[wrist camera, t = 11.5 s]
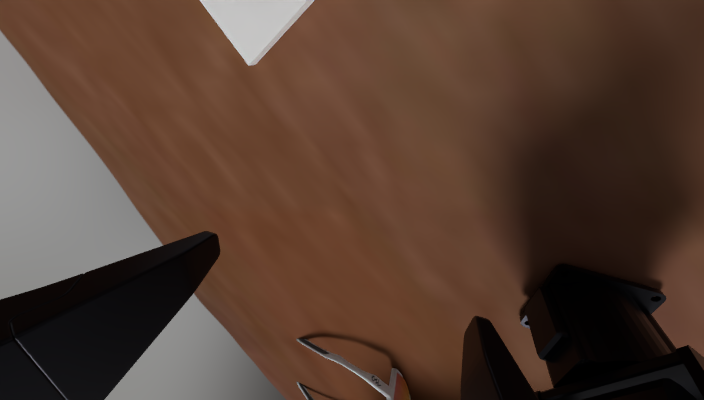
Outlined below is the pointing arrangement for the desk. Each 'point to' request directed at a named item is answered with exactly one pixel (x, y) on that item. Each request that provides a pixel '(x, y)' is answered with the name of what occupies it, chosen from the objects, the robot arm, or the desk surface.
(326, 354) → the sunglasses
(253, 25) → the white block board
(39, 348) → the robot arm
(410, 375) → the desk surface
